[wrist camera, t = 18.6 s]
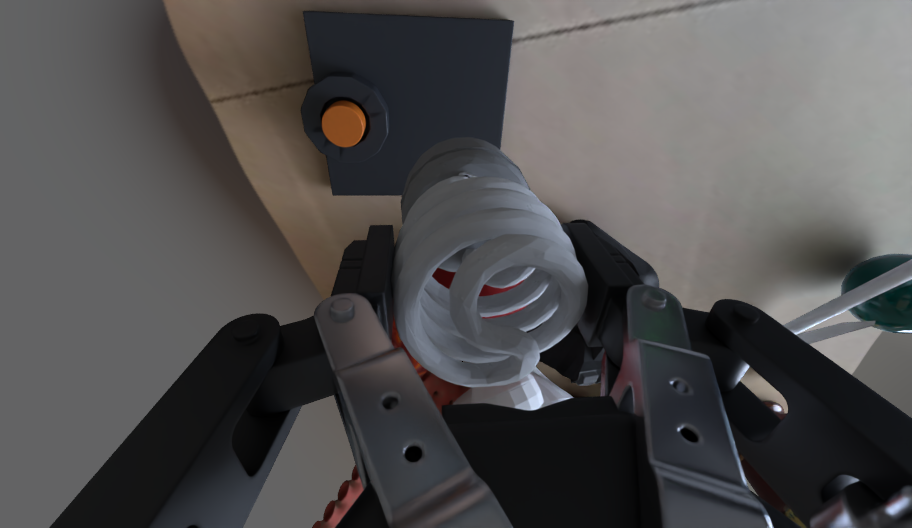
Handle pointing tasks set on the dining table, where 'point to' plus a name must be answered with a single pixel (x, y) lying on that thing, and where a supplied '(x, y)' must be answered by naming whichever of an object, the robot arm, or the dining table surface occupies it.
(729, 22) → the dining table surface
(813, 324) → the wind turbine
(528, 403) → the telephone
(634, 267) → the game controller
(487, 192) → the light bulb
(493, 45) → the push button pad
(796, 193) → the dining table surface
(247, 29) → the dining table surface
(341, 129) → the button
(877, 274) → the sphere
